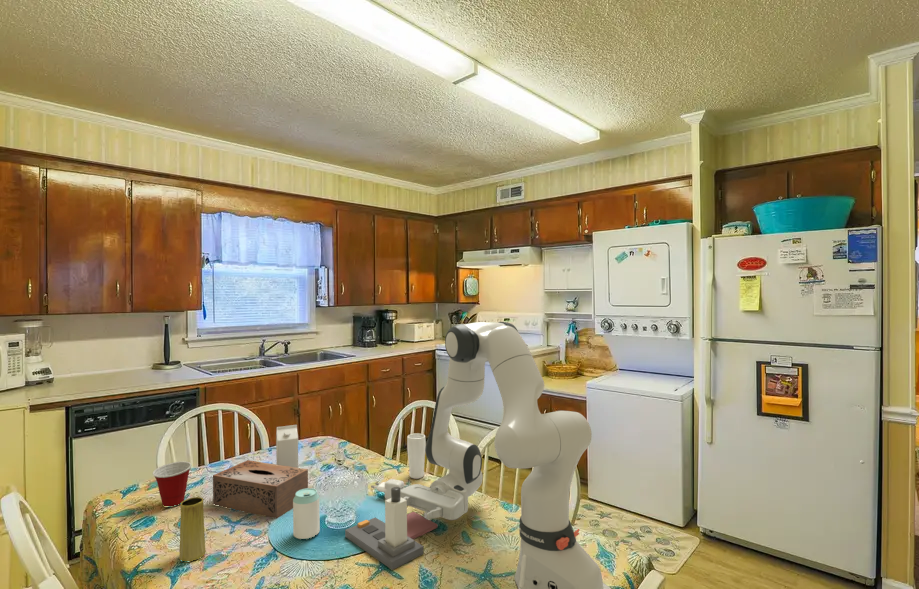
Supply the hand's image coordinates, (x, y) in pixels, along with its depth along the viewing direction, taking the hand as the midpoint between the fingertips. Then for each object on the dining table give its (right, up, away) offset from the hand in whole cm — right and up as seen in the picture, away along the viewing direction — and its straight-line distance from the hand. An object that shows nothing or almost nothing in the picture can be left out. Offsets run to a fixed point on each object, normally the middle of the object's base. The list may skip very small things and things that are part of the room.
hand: (412, 511), depth 126 cm
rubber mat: (-1, -8, +8) cm, 12 cm away
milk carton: (-51, -9, +46) cm, 70 cm away
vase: (-57, -9, -5) cm, 58 cm away
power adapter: (-11, -9, +28) cm, 31 cm away
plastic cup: (-80, -9, +25) cm, 85 cm away
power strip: (-8, -8, -1) cm, 12 cm away
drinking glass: (-3, -8, +46) cm, 47 cm away
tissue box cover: (-52, -9, +26) cm, 59 cm away
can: (-30, -9, +5) cm, 32 cm away
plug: (-4, -8, -5) cm, 11 cm away
